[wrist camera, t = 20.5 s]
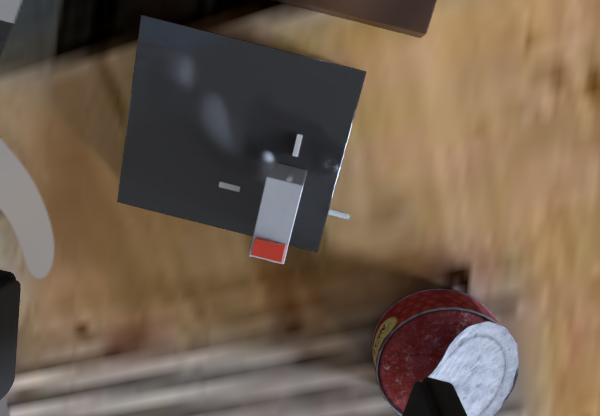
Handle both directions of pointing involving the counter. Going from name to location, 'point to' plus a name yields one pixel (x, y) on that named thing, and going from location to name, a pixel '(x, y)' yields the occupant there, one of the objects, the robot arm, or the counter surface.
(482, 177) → the counter surface
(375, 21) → the board
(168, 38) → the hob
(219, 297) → the counter surface
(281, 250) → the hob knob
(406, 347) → the canned food
